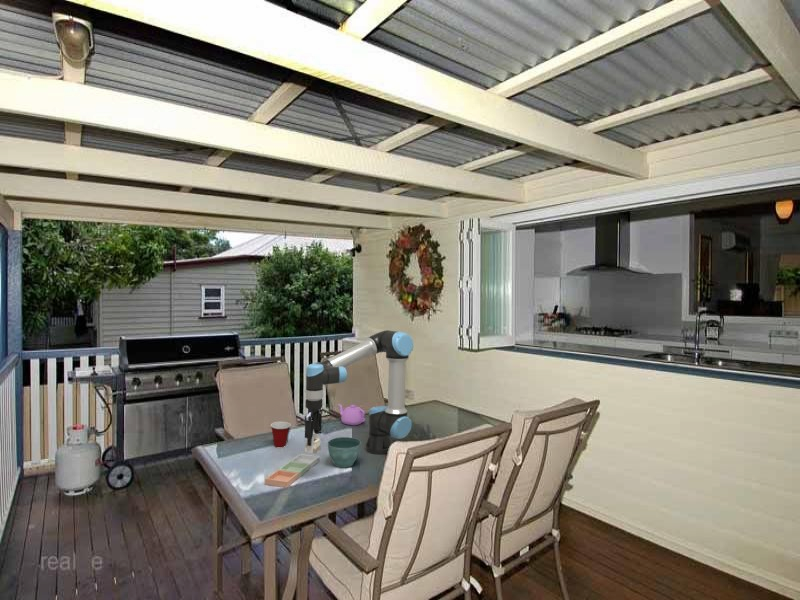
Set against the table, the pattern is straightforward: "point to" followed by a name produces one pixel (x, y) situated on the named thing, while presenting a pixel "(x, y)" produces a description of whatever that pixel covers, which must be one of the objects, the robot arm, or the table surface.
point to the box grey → (307, 459)
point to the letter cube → (314, 445)
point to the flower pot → (344, 451)
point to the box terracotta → (281, 478)
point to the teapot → (352, 415)
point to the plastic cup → (280, 433)
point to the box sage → (296, 467)
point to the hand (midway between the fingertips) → (312, 450)
